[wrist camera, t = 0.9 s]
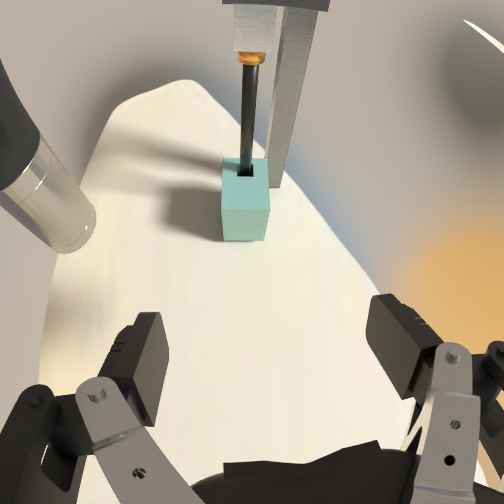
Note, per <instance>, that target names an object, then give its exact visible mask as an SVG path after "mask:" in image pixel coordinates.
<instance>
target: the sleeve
mask: <svg viewBox="0 0 504 504" xmlns="http://www.w3.org/2000/svg"><path fill="white" fill-rule="evenodd" d="M269 212H270V198H269V180H268V163H267V159H255V158H252V160H251V174H250V177H240V158H223V172H222V196H221V214H222V225H223V236H224V241H264V237H265V232H266V227H267V222H268V217H269Z"/></svg>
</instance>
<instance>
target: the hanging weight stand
mask: <svg viewBox="0 0 504 504" xmlns="http://www.w3.org/2000/svg"><path fill="white" fill-rule="evenodd" d="M329 3H330V0H222V4H234V45H233V51H234V52H238V61H239V62H241V63H243V78H242V108H241V110H242V111H241V143H240V177H250V174H251V160H252V147H253V133H254V121H255V108H256V96H257V95H256V94H257V83H258V82H257V81H258V70H259V64H262V63H263V62H264V60H265V53H266V52H269V53H271V52H272V46H273V37H274V28H275V19H276V11H277V6H284V13H283V20H282V28H281V36H280V43H279V51H278V58H277V66H276V74H275V81H274V89H273V97H272V104H271V112H270V119H269V127H268V134H267V142H266V150H265V157H264V159H267V163H268V180H269V187H276V188H280V184H281V179H282V175H283V170H284V166H285V161H286V157H287V153H288V148H289V144H290V139H291V135H292V131H293V126H294V122H295V117H296V113H297V108H298V104H299V99H300V95H301V90H302V85H303V81H304V76H305V72H306V66H307V62H308V57H309V53H310V48H311V44H312V39H313V34H314V29H315V24H316V20H317V15H318V11H325V12H327V11H328V8H329Z"/></svg>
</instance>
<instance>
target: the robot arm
mask: <svg viewBox="0 0 504 504" xmlns="http://www.w3.org/2000/svg"><path fill="white" fill-rule="evenodd" d="M0 206H2V207H3V208H4V209H5V210H6V211H7V212H9V213H10V214H11V215H12V216H13V217H14V218H15V219H17V220H18V221H19V222H20V223H21V224H23V225H24V226H25V227H26V228H27V229H29V230H30V231H31V232H32V233H33V234H35V235H36V236H37V237H38V238H40V239H41V240H42V241H43V242H45V243H46V244H47V245H48V246H50V247H51V248H52V249H54V250H55V251H57V252H59V253H70V252H73V251H75V250H77V249H79V248H80V247H81V246H82V245H84V244H85V243H86V241H87V240H88V239H89V237H90V236H91V234H92V232H93V229H94V227H95V222H96V213H95V209H94V207H93V205H92V204H91V203H90V202H89V200H88V199H87V198H86V196H85V195H84V194H83V192H82V191H81V190H80V188H79V187H78V186H77V184H76V183H75V182H74V180H73V179H72V177H71V176H70V175H69V174H68V172H67V171H66V169H65V168H64V166H63V165H62V163H60V161H59V159H58V158H57V156H56V155H55V154H54V152H53V151H52V149H51V148H50V146H49V145H48V144H47V142H46V141H45V139H44V138H43V136H42V134H41V133H40V131H39V130H38V128H37V127H36V125H35V124H34V122H33V121H32V119H31V118H30V116H29V115H28V113H27V111H26V110H25V108H24V107H23V105H22V103H21V101H20V99H19V98H18V96H17V94H16V92H15V90H14V88H13V87H12V84H11V83H10V80H9V78H8V76H7V73H6V71H5V69H4V67H3V64H2V62H1V59H0ZM366 339H367V342H368V344H369V346H370V348H371V349H372V351H373V353H374V354H375V356H376V357H377V359H378V361H379V362H380V364H381V366H382V367H383V369H384V371H385V372H386V374H387V376H388V377H389V379H390V381H391V382H392V384H393V386H394V387H395V389H396V391H397V392H398V394H399V396H400V398H401V399H402V400H404V399H407V398H411V397H414V398H415V402H414V404H413V407H412V411H411V415H410V419H409V422H408V426H407V429H406V433H405V436H404V439H403V442H402V445H401V448H400V450H396V449H381V448H380V446H379V443H378V441H377V440H374V441H371V442H367V443H363V444H359V445H355V446H351V447H347V448H342V449H340V450H338V451H336V452H334V453H331V454H329V455H327V456H324V457H322V458H320V459H317V460H315V461H312V462H310V463H306V464H296V463H282V462H271V461H252V462H235V463H223V467H224V473H220V474H216V475H213V476H210V477H207V478H205V479H203V480H200V481H199V482H197V483H195V484H193V485H192V486H189V485H188V484H187V483H186V481H185V480H184V479H183V478H182V477H181V475H180V474H179V473H178V472H177V471H176V469H175V468H174V467H173V465H172V464H171V463H170V462H169V460H168V459H167V458H166V456H165V455H164V454H163V452H162V451H161V450H160V448H159V447H158V446H157V444H156V443H155V441H154V440H153V439H152V437H151V436H150V434H149V433H148V431H147V430H146V429H145V427H144V426H148V427H154V425H155V420H156V415H157V411H158V406H159V401H160V397H161V392H162V388H163V383H164V379H165V375H166V370H167V366H168V362H169V347H168V342H167V338H166V334H165V330H164V326H163V321H162V317H161V314H160V313H159V312H140V313H139V314H138V316H137V318H136V320H135V322H134V324H133V325H127V326H126V327H125V328H124V329H123V330H122V331H120V332H119V333H118V335H117V337H116V339H115V341H114V344H113V345H112V347H111V349H110V352H109V353H108V355H107V357H106V359H105V361H104V363H103V365H102V368H101V370H100V372H99V374H98V376H97V377H94V378H91V379H88V380H86V381H85V382H83V383H82V384H81V385H80V386H79V387H78V389H77V391H76V394H69V395H62V396H54V394H53V392H52V390H51V389H50V388H49V387H48V386H46V385H41V384H38V385H33V386H30V387H28V388H27V389H25V390H24V391H23V392H22V393H21V395H20V396H19V398H18V400H17V402H16V403H15V405H14V407H13V409H12V411H11V413H10V415H9V417H8V419H7V421H6V423H5V425H4V427H3V429H2V431H1V433H0V504H76V503H77V497H78V493H79V488H80V483H81V479H82V474H83V470H84V466H85V462H86V458H87V455H94V454H95V456H96V458H97V461H98V463H99V465H100V467H101V469H102V471H103V473H104V475H105V477H106V478H107V480H108V482H109V484H110V486H111V488H112V489H113V491H114V493H115V495H116V497H117V498H118V500H119V502H120V503H121V504H504V410H503V409H502V407H501V406H500V404H499V403H498V401H497V400H496V398H497V396H498V395H499V393H500V391H501V390H503V391H504V342H502V341H493V342H491V343H490V344H489V346H488V348H487V351H486V353H485V354H470V352H469V351H468V350H467V349H466V348H465V347H464V346H462V345H460V344H457V343H452V342H447V343H444V342H443V340H442V339H441V338H440V337H439V336H438V335H437V334H436V333H435V332H434V331H433V330H432V329H431V327H430V326H429V325H428V324H426V322H425V321H424V320H423V319H422V318H421V317H420V316H419V315H418V313H417V312H415V310H414V309H412V308H410V307H408V306H406V305H405V304H401V303H400V302H399V301H398V300H397V298H396V297H395V296H394V295H393V294H391V293H390V294H382V295H375V296H373V297H372V299H371V302H370V308H369V314H368V320H367V325H366ZM479 440H480V441H481V443H482V445H483V447H484V449H485V450H486V452H487V454H488V456H489V458H490V460H491V461H492V463H493V465H494V467H495V469H496V471H497V473H498V475H499V477H500V479H501V488H500V489H499V490H498V491H497V490H494V489H492V488H489V487H486V486H484V485H481V484H479V483H476V482H474V476H475V470H476V462H477V454H478V442H479ZM46 445H48V447H47V450H46V453H45V456H44V459H43V462H42V465H41V460H42V457H43V454H44V451H45V448H46Z"/></svg>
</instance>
